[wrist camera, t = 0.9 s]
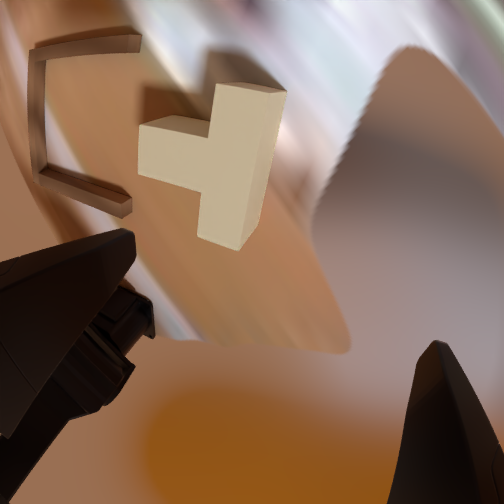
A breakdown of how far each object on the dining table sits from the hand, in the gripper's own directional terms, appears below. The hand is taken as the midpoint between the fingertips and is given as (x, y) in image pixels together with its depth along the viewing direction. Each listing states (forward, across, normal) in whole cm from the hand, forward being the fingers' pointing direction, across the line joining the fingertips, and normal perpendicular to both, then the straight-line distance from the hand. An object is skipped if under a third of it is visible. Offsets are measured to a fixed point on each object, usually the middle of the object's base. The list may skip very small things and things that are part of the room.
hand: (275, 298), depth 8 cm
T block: (+13, +8, +1) cm, 16 cm away
